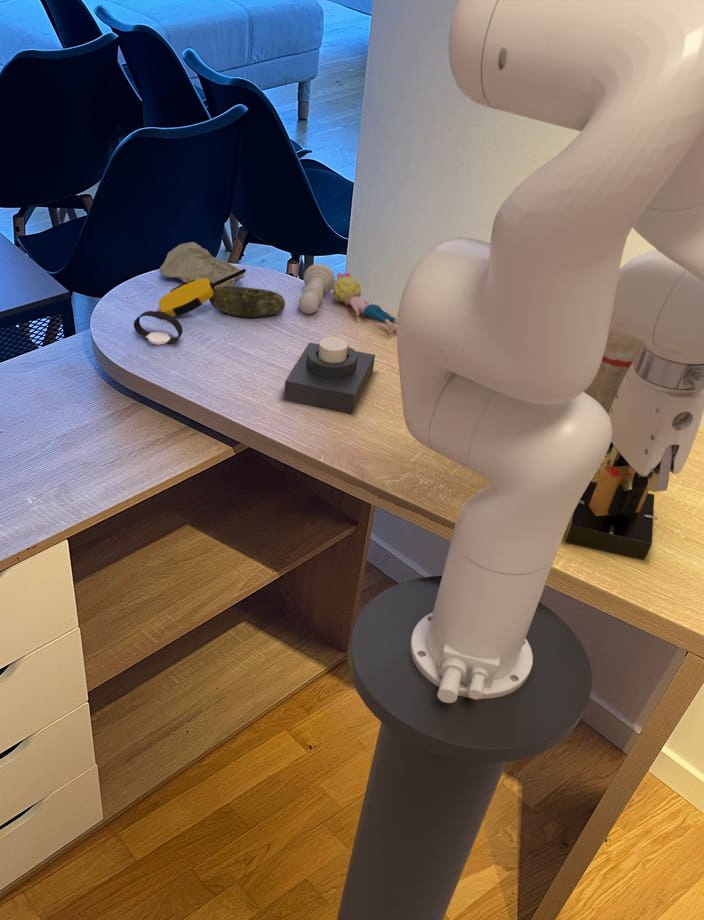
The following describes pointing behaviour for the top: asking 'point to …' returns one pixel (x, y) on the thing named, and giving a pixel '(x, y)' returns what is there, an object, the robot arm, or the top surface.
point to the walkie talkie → (190, 295)
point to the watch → (158, 336)
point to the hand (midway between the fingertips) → (615, 505)
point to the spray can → (613, 368)
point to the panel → (612, 528)
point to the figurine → (359, 300)
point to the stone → (197, 265)
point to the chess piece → (315, 287)
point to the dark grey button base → (329, 380)
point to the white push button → (333, 349)
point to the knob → (610, 489)
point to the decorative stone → (247, 301)
